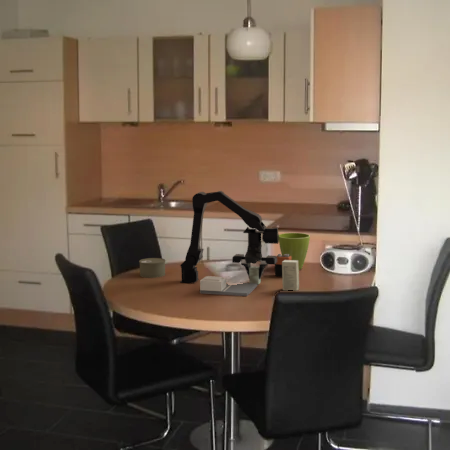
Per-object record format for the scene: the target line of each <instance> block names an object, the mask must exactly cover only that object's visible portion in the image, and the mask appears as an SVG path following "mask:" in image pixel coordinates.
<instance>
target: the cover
mask: <svg viewBox="0 0 450 450" xmlns="http://www.w3.org/2000/svg"><path fill="white" fill-rule="evenodd" d="M226 282H227V277H223V276H214V275H213V276H211V275H206V276H204V277H203V278H201V279H200V280H199V286H200V287H199V288H200V290H206V291H222V290H224V289H225V288H226ZM200 290H199V291H200Z"/></svg>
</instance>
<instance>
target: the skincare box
mask: <svg viewBox="0 0 450 450" xmlns="http://www.w3.org/2000/svg"><path fill="white" fill-rule="evenodd" d="M299 272H300V270H299V264H298V260H284V261H283V262H282V277H281V278H282V291H288V290H293V291H292V292H297V291H298V290H299V289H300V273H299Z"/></svg>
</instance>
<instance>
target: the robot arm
mask: <svg viewBox="0 0 450 450" xmlns="http://www.w3.org/2000/svg"><path fill="white" fill-rule="evenodd" d="M191 201H192V210H193V219H192V227H191V236H190V244H189V247H188V249H187V252H186V255H185V259H184V261H183V262H182V263H181V264H180V265H179V266H180V268H181V271H180V272H181V280H180V283H182V284H183V283H185V284H187V283H188V284H195V283H196V282H198V281H200V280H199V271H198V267H197V265H198V263H200V261H201V260H202V259H203V258H204V256H203V254H204V253H203V252H204V248H201V238H202V229H203V221H204V220H203V219H204V213H205V210H206V208H207V206H208V204H209V203H214V202H219V203H220V204H222V205H223V206H225V207H226V208H227V209H229V210H230V211H232V212H233V213H235V215H237V216H239V217H240V219H241V220H242V221H243V222H244V223H245V225H247V227H246V228H245V230H244V231H243V232H242V233H243V234H247V249H246V252H245V254H244V253H243V254H242V253H236V254H235V255H233V256H232V258H231V259H232V263H233V264H234V263H235V264H239V263H240V265H241V266H243V267H244V268H245V270H246V273H247V275H248V277H249V268H250V267H251V264H254V265H255V264H257V263H258V262H260V264H258V265H259V266H258V267H260V270H259V279H261V278H262V276H263V273H264V270H265V268H266V267H267V266H268V265H275V264H276V263H277V257H276V256H277V255H270V254H269V255H267V256H266V257H264V256H263V254H262V246H263V245H262V241H263V243H264V244H267V245H268V244H271V245H273V244H275V245H276V244H279V235H280V234H279V228H278V227H267V226H266V225H265V223H264V222H263V218H262V216H261V215H260V214H259V213H257V212H254V211H252V210H250V209H248V208H246V207H244V206H243V205H241V204H240V203H238V202H237V201H235V199H233V198H232V197H230V196H228V195H227V194H226V193H225V192H224V191H222V190H218V191H213V192H204V191H198V192H197V193H195V194H194V195H193V196H192V199H191ZM261 280H262V279H261Z"/></svg>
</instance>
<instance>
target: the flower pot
mask: <svg viewBox="0 0 450 450" xmlns="http://www.w3.org/2000/svg"><path fill="white" fill-rule="evenodd" d="M310 239H311V235H310V234H307V233H303V232H286V233H281V234H279V243H278V244H279V249H280V253H281V255H284V254H289V256H291V257H292V260H298V264H299V271H300V270H302V269H303V265H304V264H305V260H306V258H307V254H308V250H309V244H310Z"/></svg>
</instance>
